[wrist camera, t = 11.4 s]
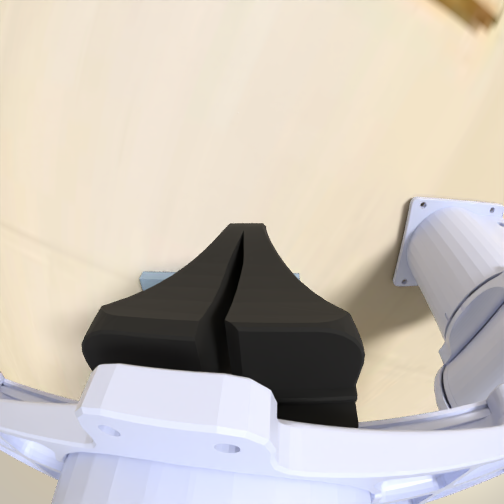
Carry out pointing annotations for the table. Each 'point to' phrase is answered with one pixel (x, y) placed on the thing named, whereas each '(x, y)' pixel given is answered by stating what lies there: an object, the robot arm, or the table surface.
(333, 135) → the table surface
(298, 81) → the table surface
